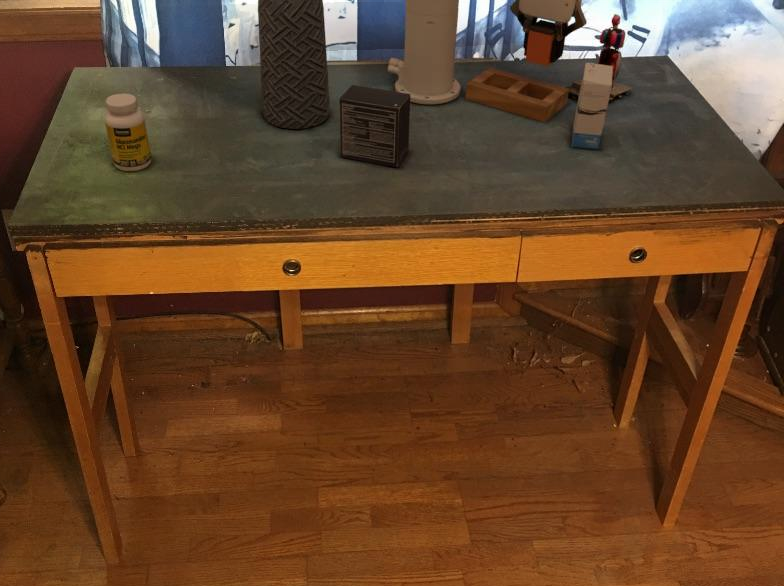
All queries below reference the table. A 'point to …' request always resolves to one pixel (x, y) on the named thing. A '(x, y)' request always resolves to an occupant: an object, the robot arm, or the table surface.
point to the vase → (293, 62)
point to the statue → (608, 58)
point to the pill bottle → (127, 133)
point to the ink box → (592, 105)
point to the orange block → (540, 42)
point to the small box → (374, 125)
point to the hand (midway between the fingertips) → (542, 55)
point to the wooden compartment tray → (517, 94)
